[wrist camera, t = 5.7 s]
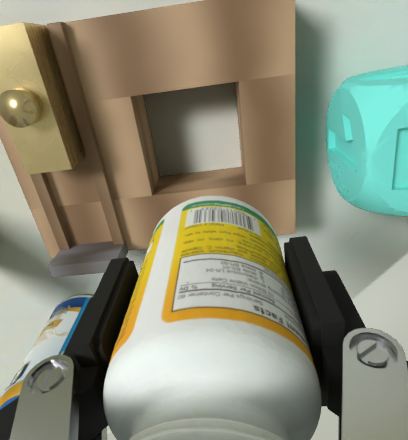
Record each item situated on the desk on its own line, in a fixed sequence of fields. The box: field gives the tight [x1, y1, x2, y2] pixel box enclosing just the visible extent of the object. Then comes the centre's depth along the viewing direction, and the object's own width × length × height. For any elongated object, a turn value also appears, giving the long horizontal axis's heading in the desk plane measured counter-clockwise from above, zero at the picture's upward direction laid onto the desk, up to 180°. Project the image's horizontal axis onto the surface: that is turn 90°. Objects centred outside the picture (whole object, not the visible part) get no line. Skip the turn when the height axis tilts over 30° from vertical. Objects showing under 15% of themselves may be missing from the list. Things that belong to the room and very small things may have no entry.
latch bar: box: [0, 22, 85, 175], centre depth 20 cm, size 3×8×4 cm, turn 7°
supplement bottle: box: [103, 196, 321, 440], centre depth 10 cm, size 5×5×10 cm
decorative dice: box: [326, 66, 408, 216], centre depth 22 cm, size 8×8×8 cm
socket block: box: [0, 0, 295, 278], centre depth 23 cm, size 20×16×7 cm
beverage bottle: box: [0, 295, 93, 410], centre depth 27 cm, size 8×8×20 cm
